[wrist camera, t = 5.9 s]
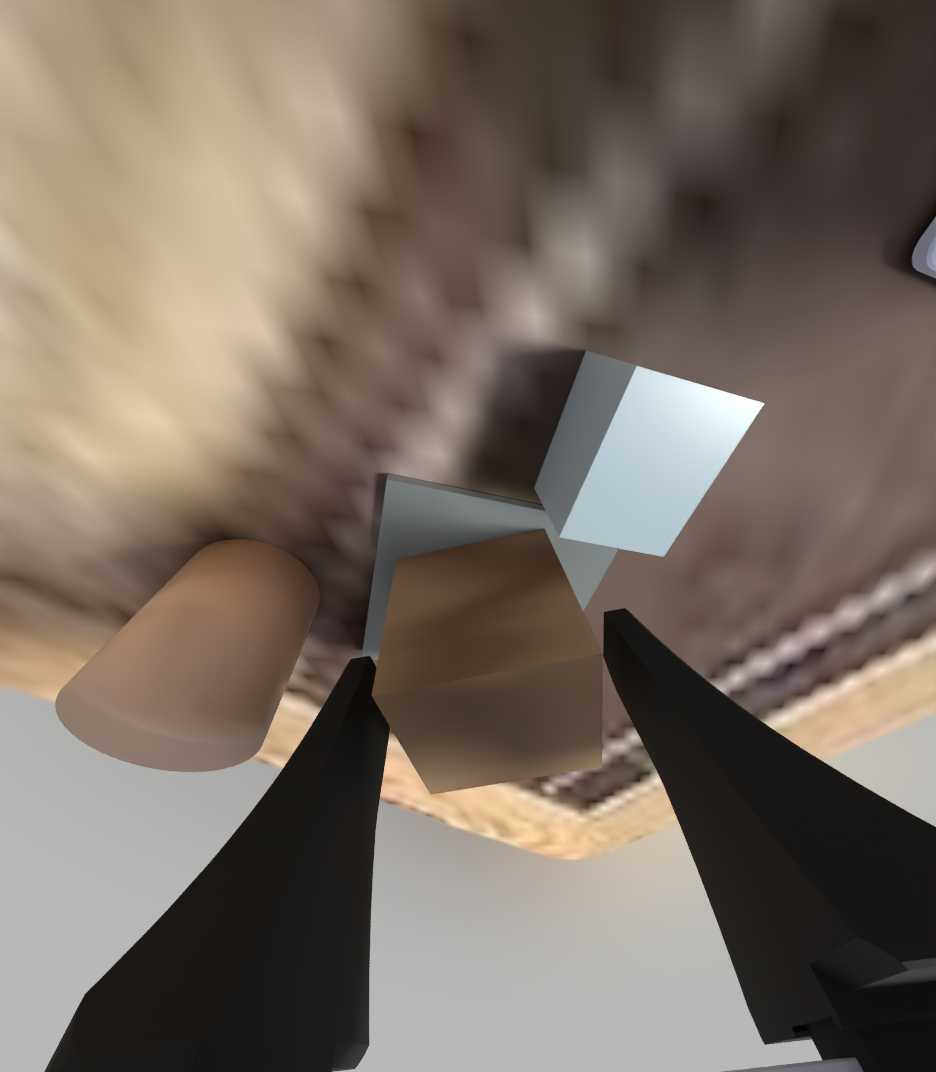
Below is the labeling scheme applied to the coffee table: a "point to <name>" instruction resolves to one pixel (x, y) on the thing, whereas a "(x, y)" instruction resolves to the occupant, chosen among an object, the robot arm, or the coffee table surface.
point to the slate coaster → (463, 538)
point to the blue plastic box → (636, 454)
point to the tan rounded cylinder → (198, 662)
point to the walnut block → (489, 665)
